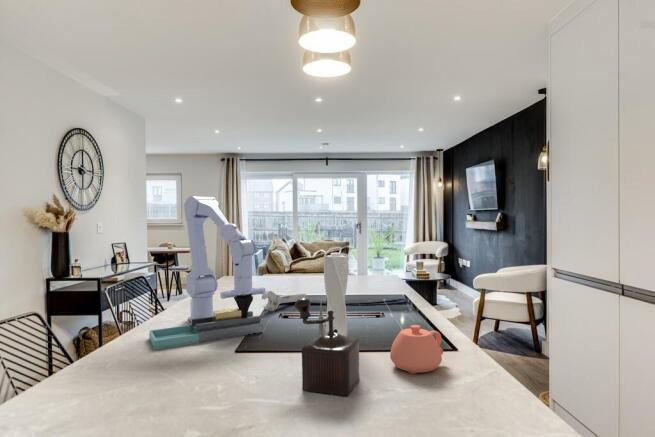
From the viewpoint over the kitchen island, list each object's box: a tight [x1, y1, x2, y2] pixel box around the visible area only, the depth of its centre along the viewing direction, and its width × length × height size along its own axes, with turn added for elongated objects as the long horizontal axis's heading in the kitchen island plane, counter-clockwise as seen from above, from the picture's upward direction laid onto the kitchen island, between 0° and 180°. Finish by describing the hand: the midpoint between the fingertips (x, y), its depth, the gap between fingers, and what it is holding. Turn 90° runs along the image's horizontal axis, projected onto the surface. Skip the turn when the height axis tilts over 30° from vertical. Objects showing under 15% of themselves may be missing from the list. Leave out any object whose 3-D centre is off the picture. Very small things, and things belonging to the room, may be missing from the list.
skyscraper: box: [317, 246, 349, 337], centre depth 123 cm, size 8×8×28 cm
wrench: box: [261, 290, 307, 312], centre depth 170 cm, size 8×2×30 cm
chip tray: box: [148, 324, 200, 351], centre depth 125 cm, size 12×12×2 cm
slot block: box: [189, 310, 264, 344], centre depth 133 cm, size 12×20×5 cm, turn 120°
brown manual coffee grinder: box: [294, 297, 360, 398], centre depth 93 cm, size 16×11×18 cm
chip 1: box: [213, 309, 229, 322], centre depth 132 cm, size 4×4×4 cm
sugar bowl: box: [389, 324, 444, 375], centre depth 102 cm, size 12×14×10 cm
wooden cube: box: [224, 307, 241, 320], centre depth 134 cm, size 4×4×4 cm
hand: (243, 318), depth 136 cm, fingers closed
